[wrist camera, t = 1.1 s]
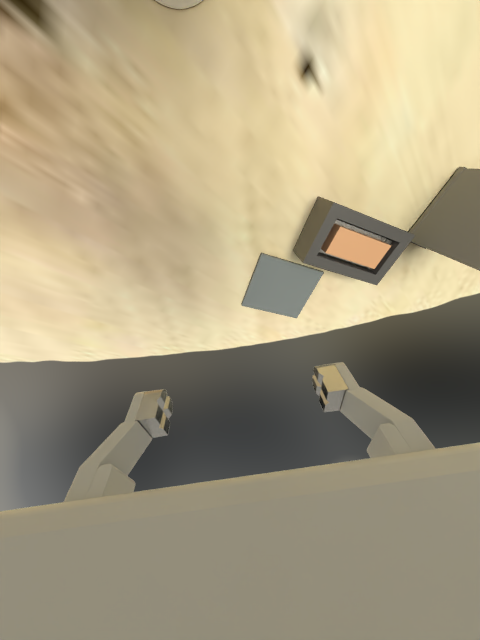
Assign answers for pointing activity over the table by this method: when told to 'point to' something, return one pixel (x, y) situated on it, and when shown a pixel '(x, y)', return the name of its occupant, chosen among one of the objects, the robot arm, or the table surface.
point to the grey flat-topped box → (453, 220)
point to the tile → (354, 246)
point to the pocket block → (330, 211)
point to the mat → (280, 286)
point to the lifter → (361, 233)
